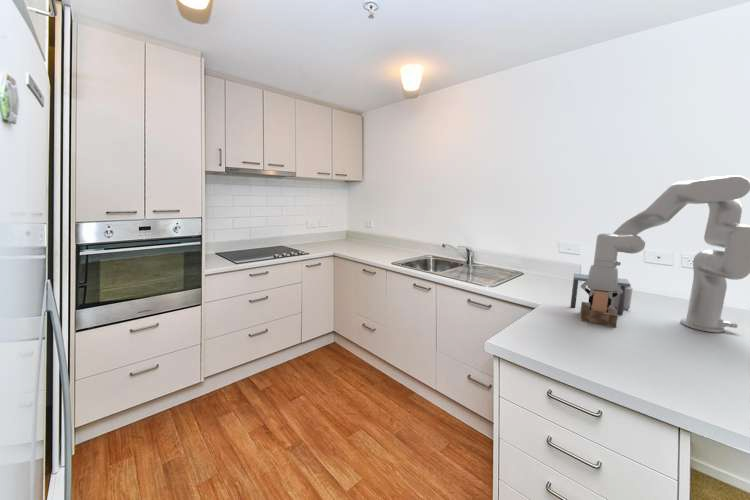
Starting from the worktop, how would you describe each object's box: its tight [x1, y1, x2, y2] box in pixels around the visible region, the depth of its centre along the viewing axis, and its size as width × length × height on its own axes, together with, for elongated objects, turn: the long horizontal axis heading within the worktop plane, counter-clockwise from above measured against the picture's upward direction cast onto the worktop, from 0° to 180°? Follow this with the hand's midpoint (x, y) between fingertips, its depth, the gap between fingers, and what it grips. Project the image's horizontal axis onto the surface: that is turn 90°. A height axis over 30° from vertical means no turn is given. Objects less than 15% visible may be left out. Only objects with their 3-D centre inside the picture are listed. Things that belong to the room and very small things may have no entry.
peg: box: [591, 290, 609, 313], centre depth 136 cm, size 5×5×10 cm
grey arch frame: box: [569, 272, 631, 316], centre depth 145 cm, size 20×9×16 cm, turn 59°
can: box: [611, 283, 634, 311], centre depth 153 cm, size 8×8×12 cm
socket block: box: [580, 301, 619, 328], centre depth 139 cm, size 12×13×5 cm
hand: (599, 305), depth 137 cm, fingers closed on peg, 4 cm apart
